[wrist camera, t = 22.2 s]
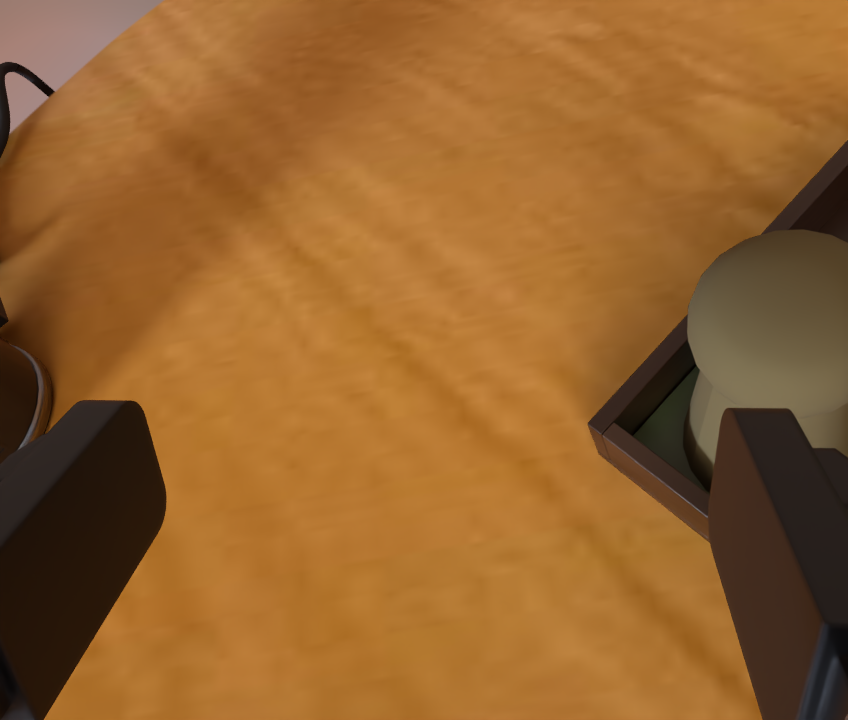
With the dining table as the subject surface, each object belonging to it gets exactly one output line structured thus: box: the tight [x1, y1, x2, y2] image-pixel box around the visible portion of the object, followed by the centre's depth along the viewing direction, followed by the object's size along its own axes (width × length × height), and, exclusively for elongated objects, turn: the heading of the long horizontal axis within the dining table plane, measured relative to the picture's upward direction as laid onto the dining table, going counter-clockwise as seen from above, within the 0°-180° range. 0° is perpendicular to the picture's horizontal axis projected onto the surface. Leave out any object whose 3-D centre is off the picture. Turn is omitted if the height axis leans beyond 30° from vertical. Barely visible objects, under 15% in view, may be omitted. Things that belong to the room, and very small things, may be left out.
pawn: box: [683, 229, 848, 493], centre depth 24 cm, size 6×6×11 cm
